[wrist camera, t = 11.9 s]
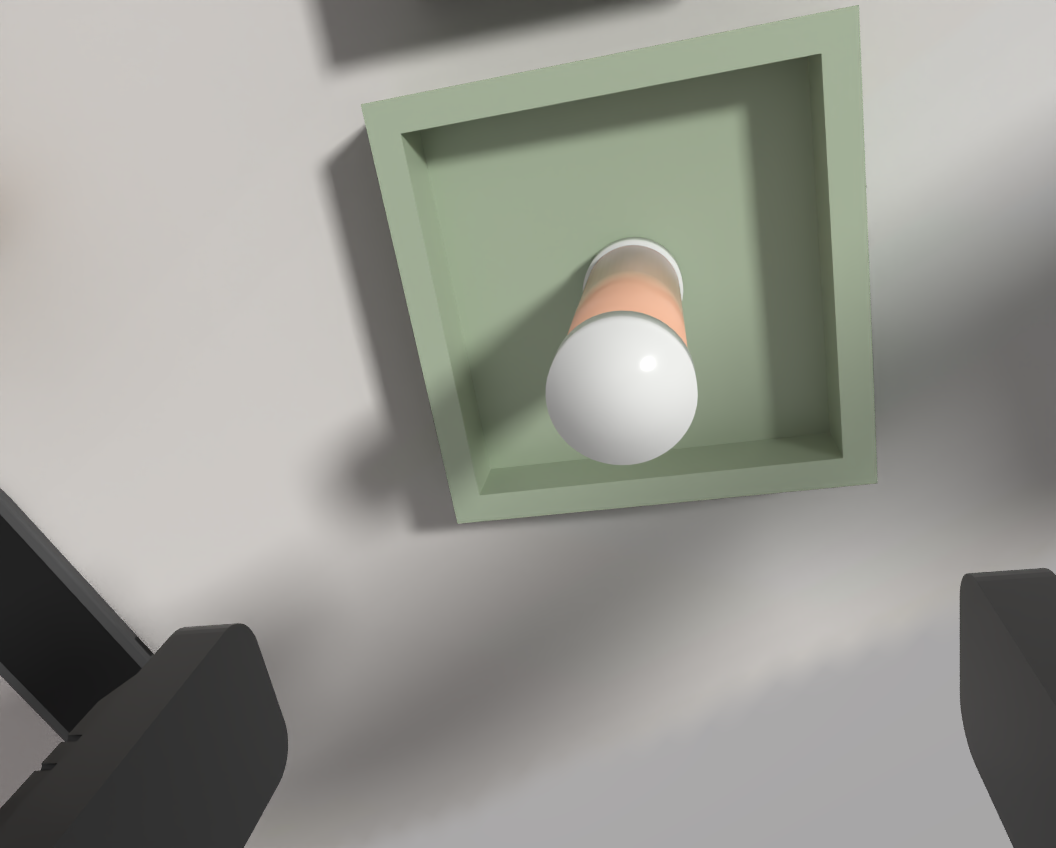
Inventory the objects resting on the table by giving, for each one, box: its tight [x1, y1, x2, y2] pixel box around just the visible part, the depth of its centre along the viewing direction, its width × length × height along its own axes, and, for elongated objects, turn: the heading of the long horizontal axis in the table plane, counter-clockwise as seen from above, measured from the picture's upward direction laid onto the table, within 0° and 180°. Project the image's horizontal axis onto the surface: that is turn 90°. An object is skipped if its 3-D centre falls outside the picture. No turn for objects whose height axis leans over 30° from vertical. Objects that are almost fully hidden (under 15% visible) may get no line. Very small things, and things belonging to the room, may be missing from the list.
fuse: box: [546, 237, 698, 465], centre depth 23 cm, size 3×3×11 cm
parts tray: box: [361, 5, 877, 524], centre depth 27 cm, size 14×14×3 cm
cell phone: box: [0, 489, 154, 742], centre depth 38 cm, size 7×14×1 cm, turn 34°
